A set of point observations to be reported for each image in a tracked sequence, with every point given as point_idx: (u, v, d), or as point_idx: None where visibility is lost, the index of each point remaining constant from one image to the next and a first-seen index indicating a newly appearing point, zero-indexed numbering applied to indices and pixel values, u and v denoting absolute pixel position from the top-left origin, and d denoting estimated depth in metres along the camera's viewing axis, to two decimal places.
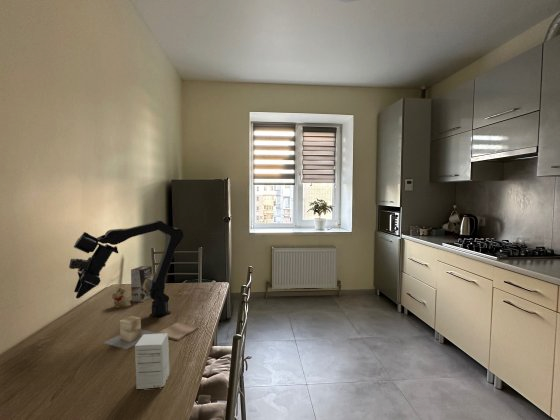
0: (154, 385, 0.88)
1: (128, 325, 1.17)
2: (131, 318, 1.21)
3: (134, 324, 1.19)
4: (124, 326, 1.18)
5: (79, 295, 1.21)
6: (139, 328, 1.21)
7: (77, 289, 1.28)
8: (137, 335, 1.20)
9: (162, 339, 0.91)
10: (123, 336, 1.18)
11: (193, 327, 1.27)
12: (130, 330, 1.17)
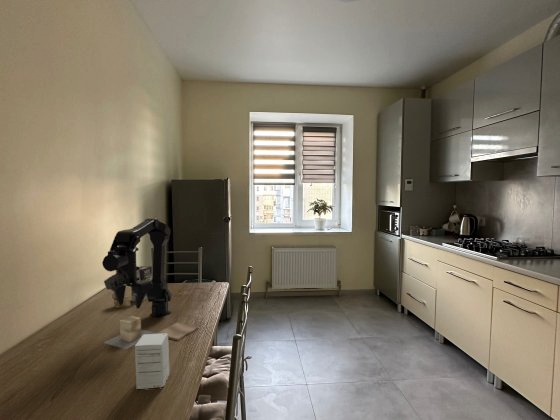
0: (154, 385, 0.88)
1: (128, 325, 1.17)
2: (131, 318, 1.21)
3: (134, 324, 1.19)
4: (124, 326, 1.18)
5: (139, 305, 1.17)
6: (139, 328, 1.21)
7: (121, 301, 1.21)
8: (137, 335, 1.20)
9: (162, 339, 0.91)
10: (123, 336, 1.18)
11: (193, 327, 1.27)
12: (130, 330, 1.17)
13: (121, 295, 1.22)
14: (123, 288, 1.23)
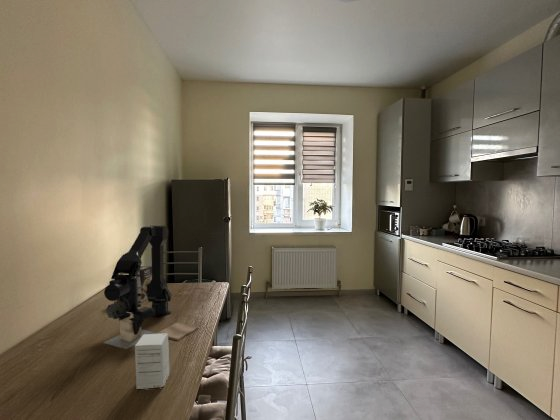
0: (154, 385, 0.88)
1: (128, 325, 1.17)
2: None
3: None
4: (124, 326, 1.18)
5: (137, 331, 1.19)
6: None
7: None
8: (137, 335, 1.20)
9: (162, 339, 0.91)
10: (123, 336, 1.18)
11: (193, 327, 1.27)
12: (130, 330, 1.17)
13: None
14: (128, 315, 1.23)
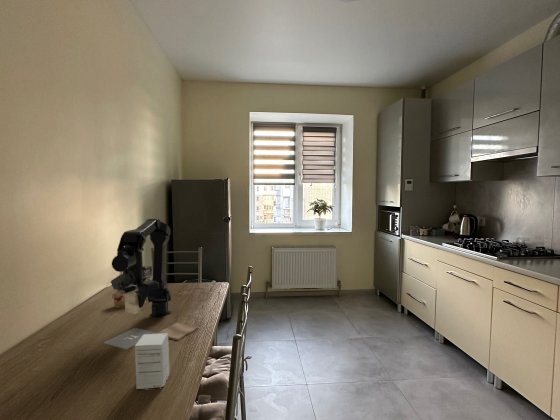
0: (154, 385, 0.88)
1: (133, 297, 1.17)
2: None
3: None
4: (129, 299, 1.18)
5: (142, 304, 1.19)
6: (144, 302, 1.21)
7: None
8: (142, 308, 1.20)
9: (162, 339, 0.91)
10: (128, 309, 1.18)
11: (193, 327, 1.27)
12: (135, 303, 1.17)
13: None
14: (133, 289, 1.23)
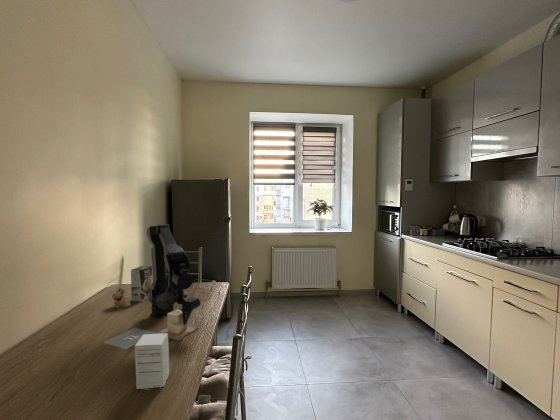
0: (154, 385, 0.88)
1: (176, 317, 1.21)
2: (177, 311, 1.25)
3: (181, 317, 1.23)
4: (172, 319, 1.22)
5: (186, 321, 1.23)
6: None
7: None
8: (183, 328, 1.24)
9: (162, 339, 0.91)
10: (170, 329, 1.23)
11: (193, 327, 1.27)
12: (178, 323, 1.21)
13: None
14: (171, 305, 1.27)
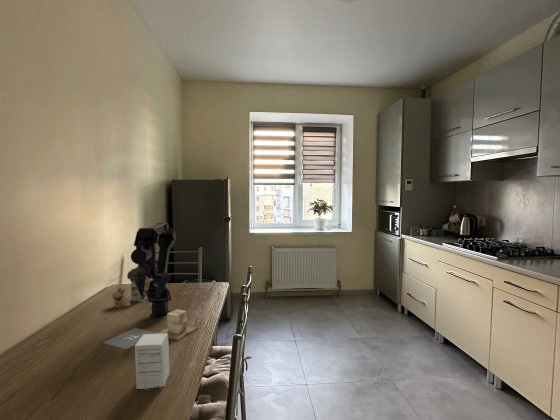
0: (154, 385, 0.88)
1: (176, 317, 1.21)
2: (177, 311, 1.25)
3: (181, 317, 1.23)
4: (172, 319, 1.22)
5: (159, 295, 1.28)
6: (185, 321, 1.25)
7: (142, 292, 1.32)
8: (183, 328, 1.24)
9: (162, 339, 0.91)
10: (170, 329, 1.23)
11: (193, 327, 1.27)
12: (178, 323, 1.21)
13: (142, 286, 1.32)
14: (143, 280, 1.33)
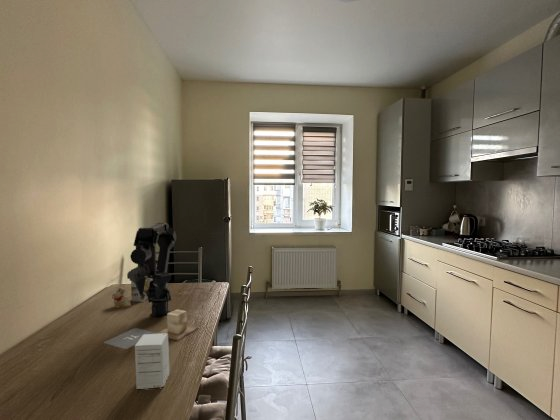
0: (154, 385, 0.88)
1: (176, 317, 1.21)
2: (177, 311, 1.25)
3: (181, 317, 1.23)
4: (172, 319, 1.22)
5: (159, 295, 1.28)
6: (185, 321, 1.25)
7: (141, 292, 1.32)
8: (183, 328, 1.24)
9: (162, 339, 0.91)
10: (170, 329, 1.23)
11: (193, 327, 1.27)
12: (178, 323, 1.21)
13: (141, 286, 1.32)
14: (143, 280, 1.34)
